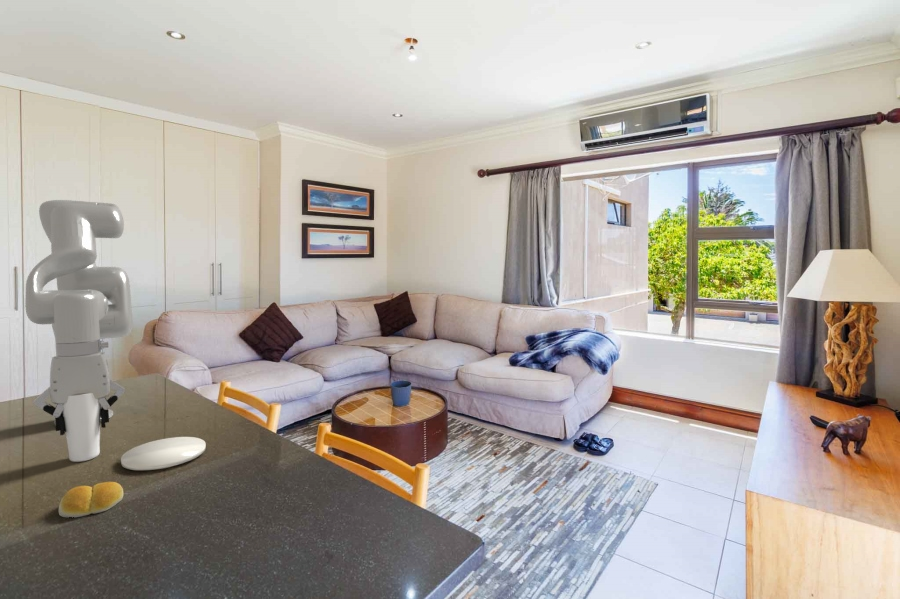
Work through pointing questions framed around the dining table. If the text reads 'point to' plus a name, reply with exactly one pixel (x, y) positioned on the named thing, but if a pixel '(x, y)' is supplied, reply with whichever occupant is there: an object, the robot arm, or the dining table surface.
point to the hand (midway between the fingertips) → (83, 428)
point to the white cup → (82, 426)
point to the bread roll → (90, 499)
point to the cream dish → (163, 453)
